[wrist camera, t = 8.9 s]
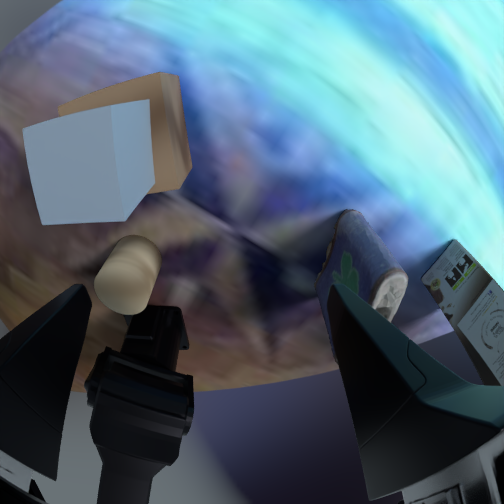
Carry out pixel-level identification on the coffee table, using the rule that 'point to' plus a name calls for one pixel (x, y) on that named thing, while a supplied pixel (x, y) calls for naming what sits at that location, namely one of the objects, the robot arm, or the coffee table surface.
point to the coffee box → (471, 309)
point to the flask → (361, 268)
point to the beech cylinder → (128, 275)
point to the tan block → (151, 122)
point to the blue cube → (91, 163)
